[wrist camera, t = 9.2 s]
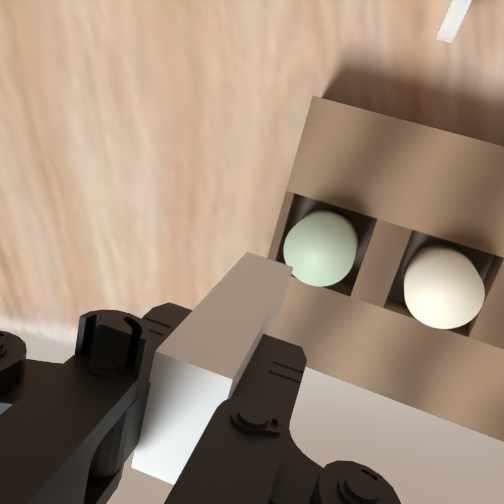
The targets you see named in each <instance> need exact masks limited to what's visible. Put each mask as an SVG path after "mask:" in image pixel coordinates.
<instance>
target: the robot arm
mask: <svg viewBox="0 0 504 504" xmlns="http://www.w3.org/2000/svg"><path fill="white" fill-rule="evenodd" d="M292 271H293V267H292V266H289V265H286V264H283V263H279V262H276V261H273V260H270V259H267V258H264V257H261V256H258V255H255V254H251V253H248V252H247V253H246V254H245V255H244V256H243V257H242V258H241V259H240V260H239V261H238V262H237V263H236V264H235V266H234V267H233V268H232V269H231V270H230V271H229V272H228V273H227V274H226V275H225V276H224V277H223V278H222V280H221V281H220V282H219V283H218V284H217V285H216V286H215V287H214V288H213V289H212V290H211V291H210V292H209V294H208V295H207V296H206V297H205V298H204V299H203V300H202V301H201V302H200V303H199V304H198V305H197V306H196V308H195V309H194V310H190V309H187V308H184V307H181V306H178V305H175V304H173V303H170V302H169V303H166V304H163V305H160V306H157V307H153V308H152V309H151V310H150V311H149V312H148V313H147V314H145V315H144V316H143V318H141V319H140V318H138V317H136V316H134V315H132V314H130V313H126V312H122V311H118V310H97V311H91V312H88V313H86V314H84V315H81V316H80V320H79V327H78V334H77V341H76V349H75V355H73V356H72V357H71V358H70V359H68V361H66V362H65V363H64V364H60V363H51V362H44V361H37V360H30V359H26V351H27V350H26V344H25V342H23V340H22V339H20V338H19V337H18V336H16V335H13V334H11V333H9V332H5V331H0V504H106V503H107V502H108V500H109V499H110V497H111V496H112V494H113V493H114V491H115V490H116V489H117V486H118V484H119V481H120V479H121V476H122V471H123V466H124V462H125V461H126V460H127V458H128V457H129V456H130V454H131V453H132V451H133V450H134V449H135V453H134V457H133V462H132V468H134V469H137V470H139V471H141V472H144V473H146V474H149V475H151V476H154V477H156V478H158V479H161V480H163V481H166V482H168V483H171V484H173V485H174V487H173V488H172V490H171V492H170V494H169V495H168V497H167V499H166V501H165V503H164V504H401V502H400V500H399V498H398V496H397V495H396V493H395V491H394V489H393V487H392V486H391V485H390V484H389V483H388V482H387V481H386V480H385V479H384V478H383V477H382V476H381V475H379V474H378V473H376V472H375V471H373V470H372V469H370V468H369V467H367V466H364V465H361V464H358V463H355V462H353V461H335V462H332V463H329V464H327V465H326V466H325V467H324V468H322V467H321V466H320V465H318V464H317V463H315V462H313V461H312V460H311V459H310V458H308V457H307V456H306V455H305V454H303V453H302V452H301V450H300V449H299V448H298V447H297V446H296V445H295V443H294V441H293V439H292V437H291V434H290V430H289V424H290V419H291V416H292V412H293V408H294V405H295V401H296V398H297V394H298V391H299V387H300V383H301V380H302V377H303V373H304V370H305V366H306V363H307V358H306V356H305V353H304V351H303V348H302V347H301V346H298V345H295V344H292V343H289V342H286V341H283V340H281V339H278V338H275V337H273V335H274V332H275V328H276V325H277V321H278V318H279V315H280V311H281V308H282V305H283V301H284V298H285V294H286V291H287V288H288V284H289V281H290V277H291V274H292Z"/></svg>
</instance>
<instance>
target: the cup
mask: <svg viewBox="0 0 504 504" xmlns="http://www.w3.org/2000/svg"><path fill="white" fill-rule="evenodd" d="M471 1H472V0H451V2H450V5H449V7H448V10H447V12H446V15H445V17H444V19H443V22H442V24H441V27H440V29H439V32H438V34H437V37H436V39H438V40H441V41H444V42H448V43H451V42H452V40H453V39H454V37H455V35H456V33H457V31H458V29H459V27H460V25H461V23H462V21H463V19H464V17H465V14H466V12H467V10H468V8H469V6H470V4H471Z"/></svg>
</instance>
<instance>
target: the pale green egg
mask: <svg viewBox="0 0 504 504" xmlns="http://www.w3.org/2000/svg"><path fill="white" fill-rule="evenodd" d="M358 243H359V240H358V233H357V230H356V228H355V226H354V224H353V222H352V221H351V220H350V219H349V218H348V217H347V216H346V215H344V214H343V213H341V212H339V211H336V210H333V209H318V210H314V211H312V212H310V213H308V214H307V215H305V216H304V217H303V218H302V219H301V220H300V221H299V222H298V223H297V224H296V225H295V226H294V227H293V228H292V229H291V231H290V232H289V233H288V235H287V237H286V240H285V243H284V259H285V262H286V264H287V265H289V266H292V267H293V271H292V274H293V275H294V276H295V277H296V278H297V279H299V280H300V281H302V282H304V283H306V284H308V285H312V286H321V287H322V286H329V285H332V284H335V283H337V282H339V281H340V280H342V279H343V278H344V277H345V276H346V275H347V274H348V272H349V271H350V269H351V267H352V265H353V262H354V259H355V256H356V252H357V249H358Z"/></svg>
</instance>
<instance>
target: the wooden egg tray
mask: <svg viewBox="0 0 504 504" xmlns="http://www.w3.org/2000/svg"><path fill="white" fill-rule="evenodd" d="M318 209H333V210H336V211H339V212H341V213H343V214H344V215H346V216H347V217H348V218H349V219H350V220H351V221H352V222H353V224H354V226H355V228H356V230H357V233H358V240H359V243H358V249H357V252H356V256H355V259H354V262H353V265H352V267H351V269H350V271H349V272H348V274H347V275H346V276H345V277H344V278H343V279H342V280H340V281H339V282H337V283H335V284H332V285H329V286H322V287H321V286H312V285H308V284H306V283H304V282H302V281H300V280H299V279H297V278H296V277H295V276H294V275H293V274H291V277H290V281H289V284H288V288H287V291H286V294H285V298H284V301H283V305H282V308H281V311H280V315H279V318H278V321H277V325H276V328H275V332H274V335H273V337H275V338H278V339H281V340H283V341H286V342H289V343H292V344H295V345H298V346H301V347H302V348H303V351H304V353H305V356H306V358H307V363H306V367H308V368H311V369H314V370H316V371H319V372H322V373H324V374H327V375H329V376H332V377H335V378H337V379H340V380H343V381H345V382H348V383H351V384H353V385H356V386H358V387H361V388H364V389H366V390H369V391H372V392H374V393H377V394H380V395H382V396H385V397H388V398H390V399H393V400H395V401H398V402H401V403H403V404H406V405H409V406H411V407H414V408H417V409H419V410H422V411H424V412H427V413H430V414H432V415H435V416H438V417H440V418H443V419H445V420H449V421H451V422H453V423H456V424H459V425H461V426H464V427H467V428H469V429H472V430H474V431H477V432H480V433H482V434H485V435H488V436H490V437H493V438H496V439H498V440H501V441H503V442H504V146H501V145H497V144H493V143H489V142H485V141H482V140H478V139H474V138H470V137H467V136H463V135H459V134H455V133H451V132H448V131H444V130H440V129H436V128H433V127H429V126H425V125H421V124H418V123H414V122H410V121H406V120H402V119H399V118H395V117H391V116H387V115H384V114H380V113H376V112H372V111H369V110H365V109H361V108H357V107H353V106H350V105H346V104H342V103H338V102H335V101H331V100H327V99H323V98H319V97H316V96H313V97H312V101H311V104H310V108H309V111H308V115H307V119H306V122H305V126H304V129H303V133H302V136H301V140H300V144H299V147H298V151H297V154H296V158H295V161H294V165H293V169H292V172H291V176H290V179H289V183H288V186H287V190H286V194H285V197H284V201H283V204H282V208H281V212H280V215H279V219H278V222H277V226H276V229H275V233H274V237H273V240H272V244H271V247H270V251H269V254H268V258H267V259H270V260H273V261H276V262H279V263H283V264H286V262H285V259H284V243H285V240H286V237H287V235H288V233H289V232H290V231H291V229H292V228H293V227H294V226H295V225H296V224H297V223H298V222H299V221H300V220H301V219H302V218H303V217H304V216H305V215H307V214H308V213H310V212H312V211H314V210H318ZM431 245H449V246H452V247H455V248H457V249H459V250H461V251H462V252H464V253H465V254H466V255H467V256H468V257H469V258H470V260H471V261H472V263H473V265H474V267H475V268H476V270H477V272H478V274H479V276H480V278H481V280H482V282H483V285H484V291H485V297H484V302H483V305H482V307H481V309H480V311H479V312H478V314H477V315H476V316H475V317H474V318H473V319H472V320H471V321H469V322H468V323H466V324H464V325H462V326H459V327H456V328H451V329H439V328H434V327H430V326H428V325H425V324H423V323H422V322H420V321H419V320H417V319H416V318H415V317H414V316H413V315H412V313H411V312H410V310H409V309H408V307H407V305H406V301H405V296H404V270H405V267H406V264H407V262H408V261H409V259H410V258H411V257H412V256H413V255H414V254H415V253H416V252H418V251H419V250H421V249H423V248H425V247H427V246H431ZM286 265H287V264H286Z"/></svg>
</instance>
